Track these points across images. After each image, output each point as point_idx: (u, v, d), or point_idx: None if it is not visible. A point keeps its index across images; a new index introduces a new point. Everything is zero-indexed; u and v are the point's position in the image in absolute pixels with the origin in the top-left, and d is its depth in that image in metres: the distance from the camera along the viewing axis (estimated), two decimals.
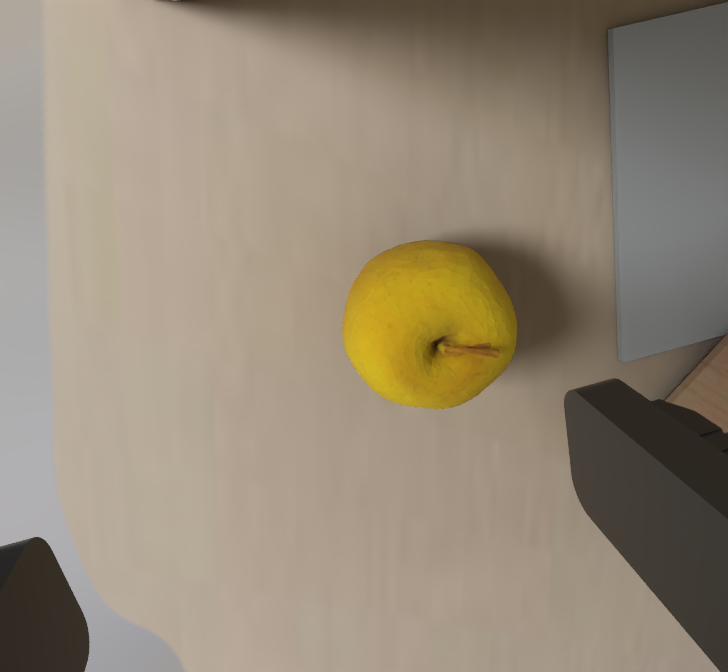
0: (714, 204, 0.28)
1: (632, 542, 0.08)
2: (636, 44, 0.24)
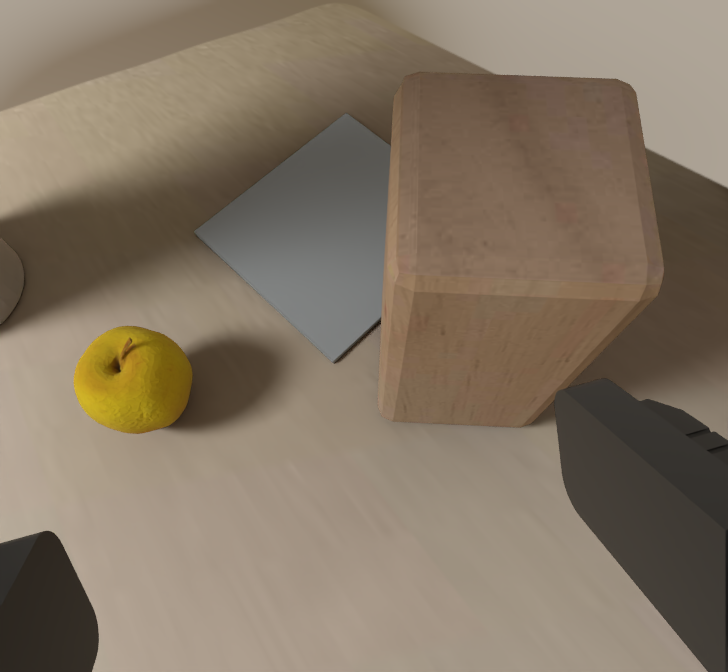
0: (313, 257, 0.44)
1: (620, 540, 0.08)
2: (210, 229, 0.46)
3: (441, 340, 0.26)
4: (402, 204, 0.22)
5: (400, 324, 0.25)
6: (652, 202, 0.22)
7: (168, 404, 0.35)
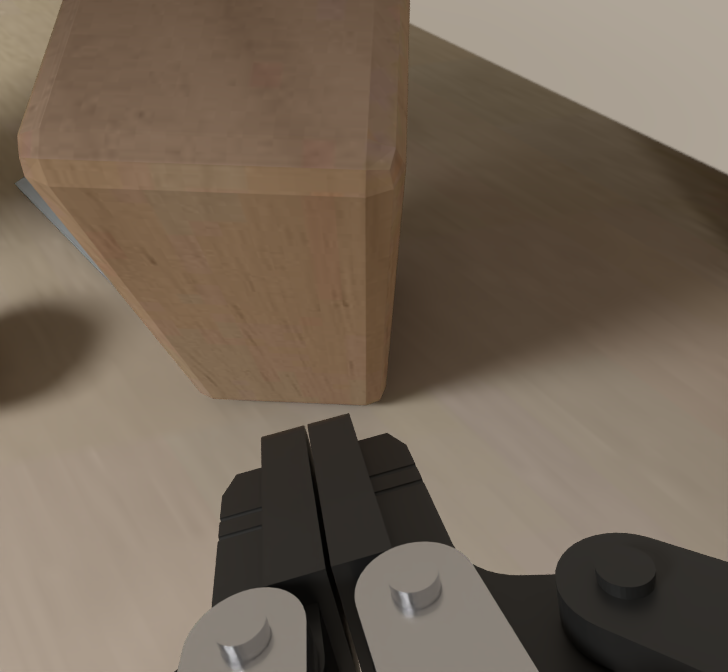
0: None
1: None
2: None
3: (161, 273, 0.19)
4: (44, 67, 0.16)
5: (90, 248, 0.18)
6: (396, 64, 0.16)
7: None
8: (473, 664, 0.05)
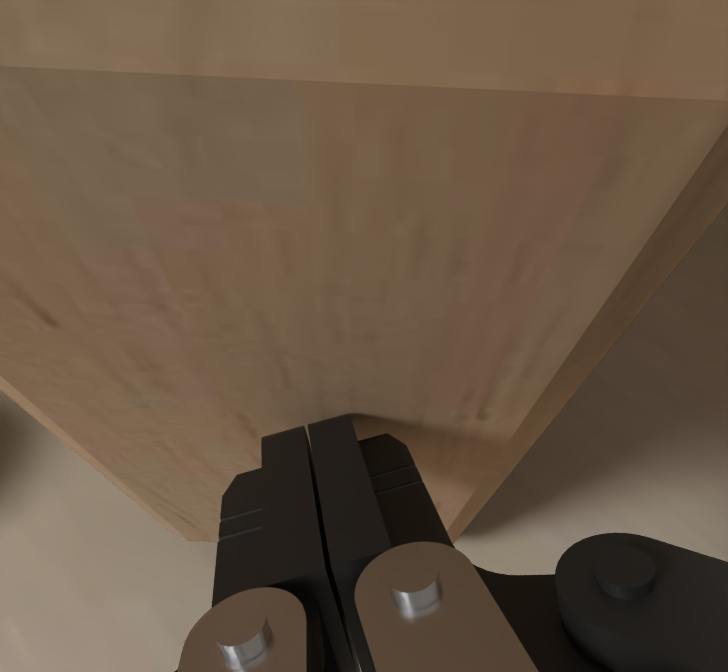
0: None
1: None
2: None
3: (74, 348, 0.08)
4: None
5: None
6: None
7: None
8: (473, 664, 0.05)
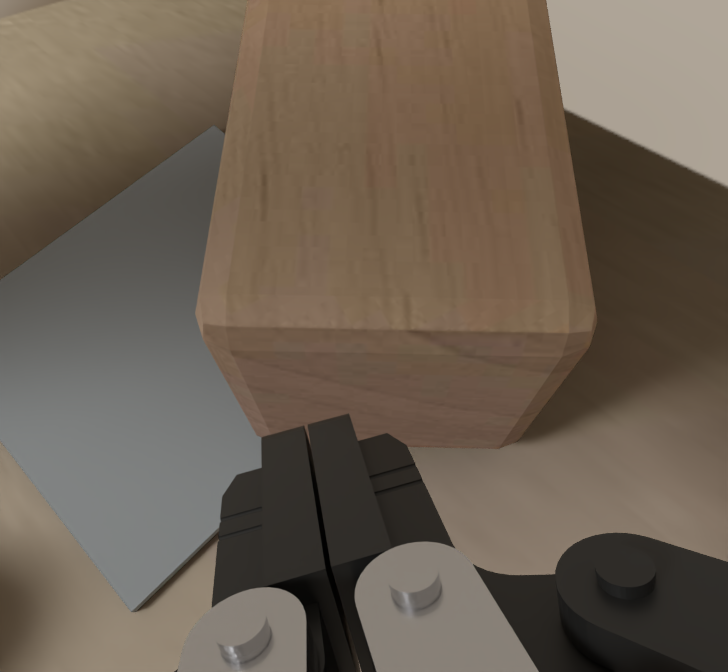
0: (123, 389, 0.24)
1: None
2: None
3: None
4: None
5: None
6: None
7: None
8: (473, 664, 0.05)
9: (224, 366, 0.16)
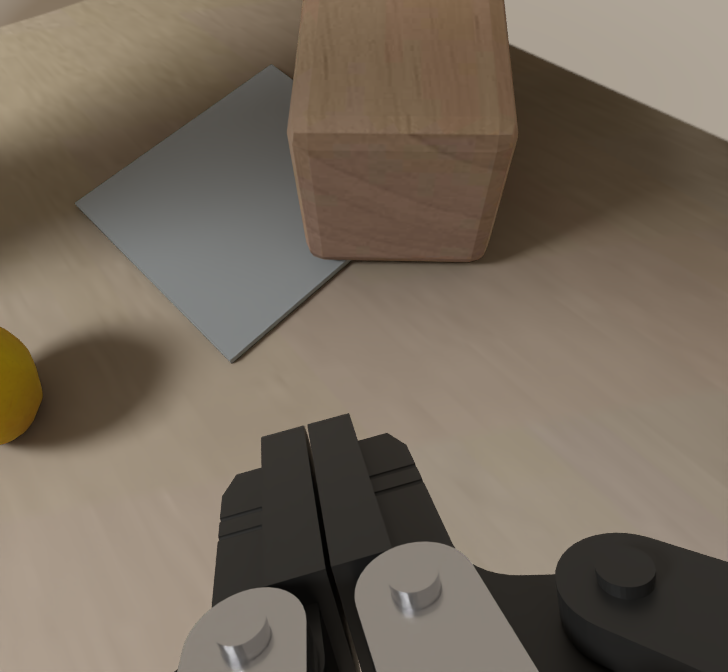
0: (216, 233, 0.36)
1: None
2: (94, 200, 0.37)
3: None
4: None
5: None
6: None
7: None
8: (473, 664, 0.05)
9: (301, 170, 0.27)
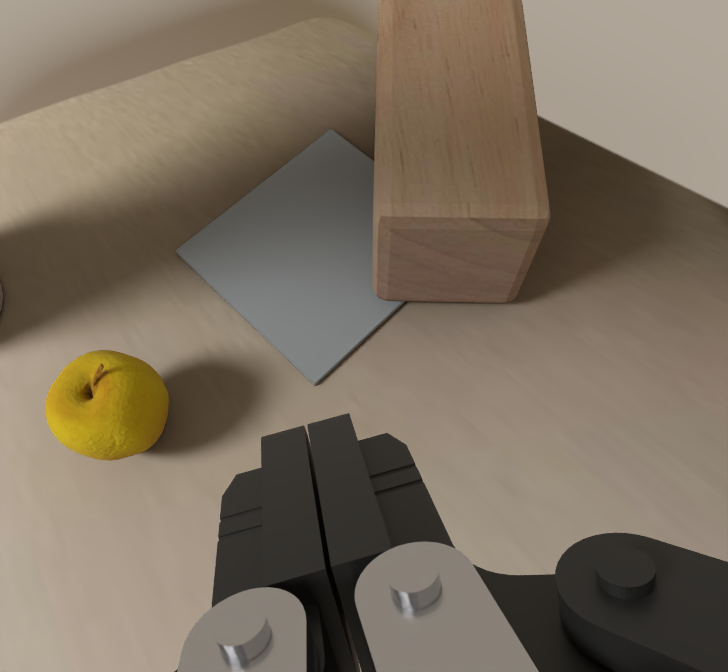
0: (295, 277, 0.44)
1: None
2: (191, 248, 0.45)
3: (415, 34, 0.40)
4: None
5: (387, 24, 0.40)
6: None
7: (141, 431, 0.35)
8: (473, 664, 0.05)
9: (381, 240, 0.35)
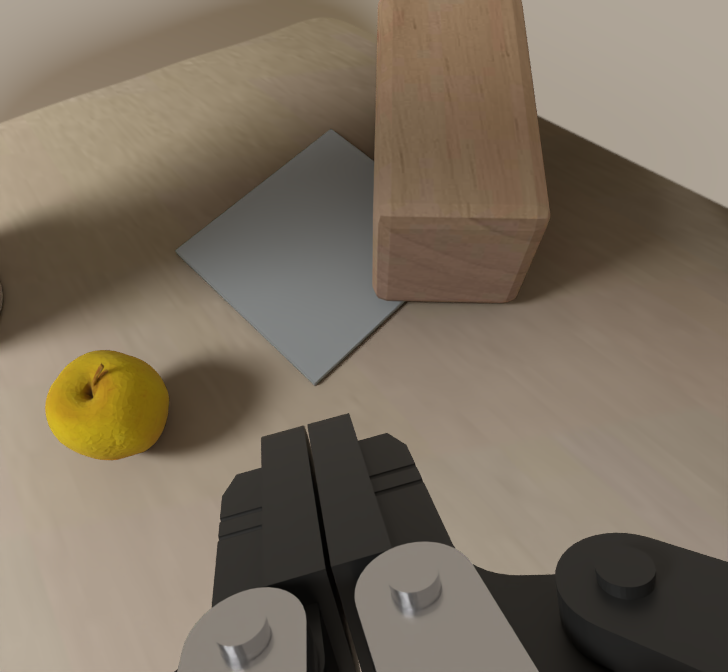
0: (295, 277, 0.44)
1: None
2: (191, 248, 0.45)
3: (415, 34, 0.40)
4: None
5: (387, 24, 0.40)
6: None
7: (141, 431, 0.35)
8: (473, 664, 0.05)
9: (381, 240, 0.35)
